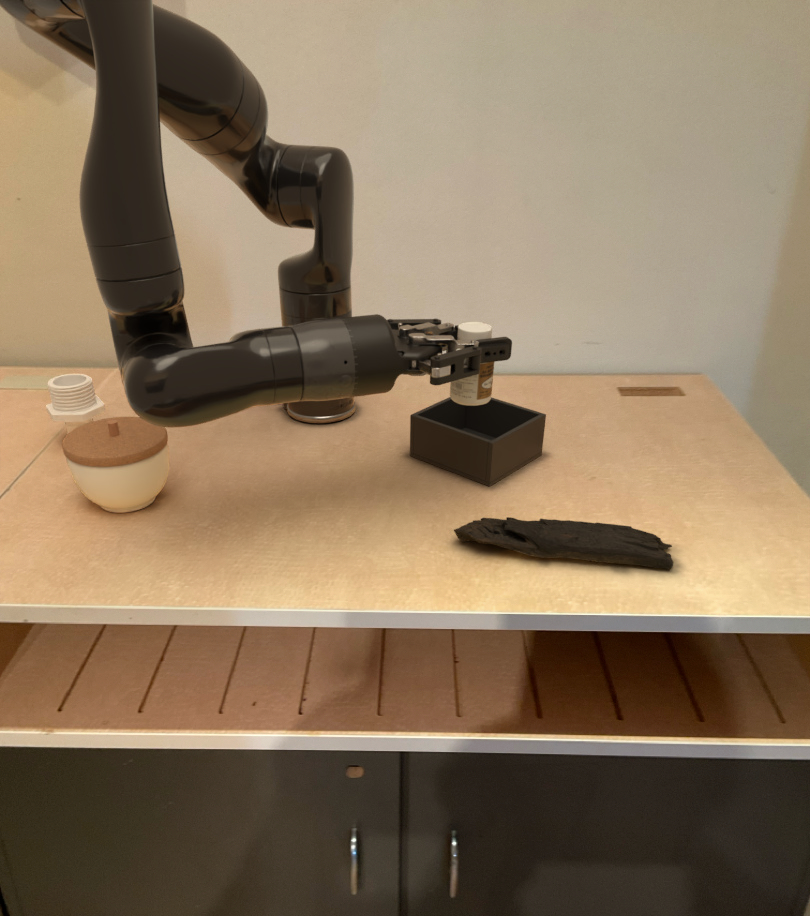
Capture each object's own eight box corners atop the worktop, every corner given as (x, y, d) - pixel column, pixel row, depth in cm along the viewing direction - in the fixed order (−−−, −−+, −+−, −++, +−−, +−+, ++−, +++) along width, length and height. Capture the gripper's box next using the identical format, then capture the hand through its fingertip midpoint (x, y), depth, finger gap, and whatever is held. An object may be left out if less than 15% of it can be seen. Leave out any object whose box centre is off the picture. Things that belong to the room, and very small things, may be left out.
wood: (666, 534, 83) (671, 509, 81) (678, 573, 77) (684, 547, 75) (456, 520, 85) (457, 495, 84) (450, 556, 79) (452, 530, 78)
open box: (409, 455, 98) (410, 414, 95) (464, 428, 106) (466, 389, 103) (489, 486, 92) (492, 443, 89) (541, 455, 99) (546, 414, 96)
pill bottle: (488, 408, 81) (494, 334, 77) (446, 404, 82) (450, 331, 78) (493, 393, 85) (499, 321, 81) (453, 389, 86) (456, 318, 82)
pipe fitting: (63, 455, 98) (48, 394, 93) (51, 435, 103) (36, 376, 98) (115, 444, 100) (103, 384, 96) (100, 424, 106) (88, 367, 101)
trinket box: (85, 532, 82) (65, 451, 77) (70, 489, 90) (51, 412, 85) (187, 509, 87) (175, 431, 82) (164, 470, 95) (152, 396, 90)
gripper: (363, 342, 68) (537, 323, 74) (316, 300, 79) (470, 286, 85) (364, 423, 72) (529, 399, 78) (320, 371, 83) (466, 354, 89)
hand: (497, 340), depth 81 cm, fingers closed on pill bottle, 4 cm apart
